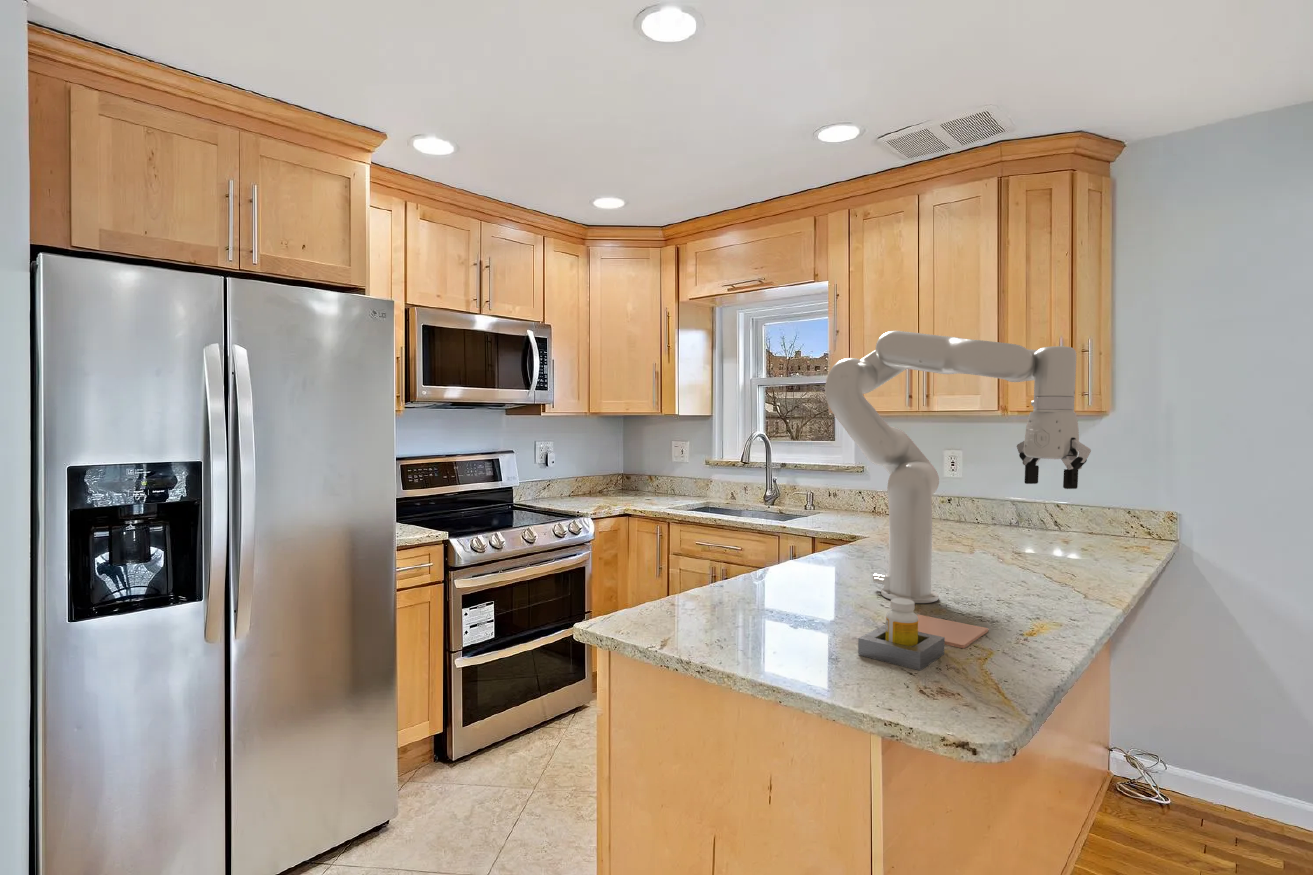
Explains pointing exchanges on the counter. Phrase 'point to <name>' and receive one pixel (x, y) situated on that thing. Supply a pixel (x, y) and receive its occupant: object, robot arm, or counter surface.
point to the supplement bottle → (902, 622)
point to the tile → (950, 630)
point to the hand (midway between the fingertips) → (1050, 486)
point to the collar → (901, 649)
